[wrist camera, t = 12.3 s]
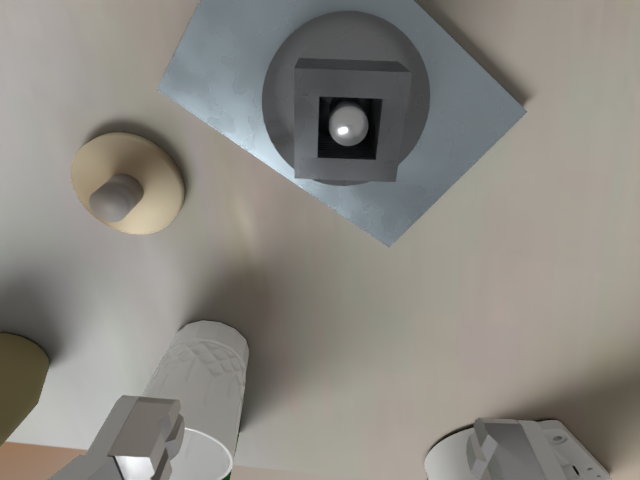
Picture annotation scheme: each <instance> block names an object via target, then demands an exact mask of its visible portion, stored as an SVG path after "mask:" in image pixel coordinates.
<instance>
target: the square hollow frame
mask: <svg viewBox="0 0 640 480" xmlns="http://www.w3.org/2000/svg"><path fill="white" fill-rule="evenodd" d="M411 76H412V72H411V71H409V70H408V69H407V68H406V67H404V66H403V65H402V64H401V63H399V62H398V61H371V60H344V59H317V58H299V59H298V61H297V63H296V65H295V67H294V179H322V180H350V181H379V182H396V177H397V170H398V163H399V156H400V150H401V143H402V136H403V130H404V123H405V116H406V109H407V103H408V96H409V89H410V83H411ZM320 96H321V97H348V98H373V100H372V110H371V120H370V129H369V137H364V139H363V140H362V141H361V142H359V143H358V144H356V145H352V146H344V145H341V144H339V143H337V142H336V141H335V140H334V139H333V138H332V136H319V107H320Z"/></svg>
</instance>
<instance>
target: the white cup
mask: <svg viewBox="0 0 640 480" xmlns="http://www.w3.org/2000/svg"><path fill="white" fill-rule="evenodd" d="M248 358H249V348H248V345H247V341H246V339H245V338H244V337H243V336H242V335H241V334H240V333H239V332H238V331H237V330H236V329H234V328H232V327H230V326H228V325H225V324H223V323H221V322H215V321H205V320H202V321H197V322H193V323H189V324H187V325H185V326H184V327H183V328H182V329H181V330H179V331H178V332H177V333H176V335H175V337H174V339H173V341H172V343H171V345H170V347H169V349H168V351H167V353H166V354H165V355H164V357H163V358H162V360H161V361H160V363H159V365H158V367H157V369H156V371H155V373H154V374H153V376H152V378H151V379H150V381H149V383H148V385H147V387H146V389H145V390H144V392H143V394H142V397H152V398H166V399H179V401H180V404H181V409H180V412H179V414H180V415H181V416H183V417H184V422H185V432H184V437H183V442H182V445H181V448H180V451H179V454H177V455H176V456H175V457H174V458H173V459H172V460H171V461H170V463H171V467H172V473H171V476H170V479H169V480H221V479H223V478H225V477H226V476H227V475H228V474H229V473H230V471H231V470H232V467H233V462H234V456H235V449H236V443H237V437H238V430H239V424H240V418H241V412H242V406H243V395H244V390H245V383H246V369H247V363H248Z"/></svg>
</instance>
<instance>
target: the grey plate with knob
mask: <svg viewBox="0 0 640 480" xmlns="http://www.w3.org/2000/svg"><path fill="white" fill-rule="evenodd" d="M299 58H317V59H344V60H371V61H398V62H399V63H401V64H402V65H403V66H404V67H406V68H407V69H408V70H409V71H411V72H412V76H411V83H410V89H409V96H408V103H407V109H406V116H405V123H404V130H403V136H402V143H401V150H400V156H399V163H398V170H397V177H396V182H379V181H350V180H322V179H294V67H295V65H296V63H297V61H298V59H299ZM157 90H159V91H160V92H162V93H163V94H165V95H166V96H168V97H169V98H170V99H172V100H173V101H175V102H176V103H178V104H179V105H181V106H182V107H184V108H185V109H187V110H188V111H189V112H191V113H192V114H194V115H195V116H197V117H198V118H200V119H201V120H203V121H204V122H206V123H207V124H209V125H210V126H211V127H213V128H214V129H216V130H217V131H219V132H220V133H222V134H223V135H225V136H226V137H228V138H229V139H231V140H232V141H233V142H235V143H236V144H238V145H239V146H241V147H242V148H244V149H245V150H247V151H248V152H250V153H251V154H253V155H254V156H255V157H257V158H258V159H260V160H261V161H263V162H264V163H266V164H267V165H269V166H270V167H272V168H273V169H275V170H276V171H277V172H279V173H280V174H282V175H283V176H285V177H286V178H288V179H289V180H291V181H292V182H294V183H295V184H297V185H298V186H299V187H301V188H302V189H304V190H305V191H307V192H308V193H310V194H311V195H313V196H314V197H316V198H317V199H319V200H320V201H321V202H323V203H324V204H326V205H327V206H329V207H330V208H332V209H333V210H335V211H336V212H338V213H339V214H341V215H342V216H343V217H345V218H346V219H348V220H349V221H351V222H352V223H354V224H355V225H357V226H358V227H360V228H361V229H363V230H364V231H365V232H367V233H368V234H370V235H371V236H373V237H374V238H376V239H377V240H379V241H380V242H382V243H383V244H385V245H386V246H387V247H390V246H391V245H392V244H393V243H394V242H395V241H396V240H397V239H398V238H399V237H400V236H401V235H402V234H403V233H404V232H405V231H406V230H407V229H408V228H409V227H410V226H411V225H413V224H414V223H415V222H416V221H417V220H418V219H419V218H420V217H421V216H422V215H423V214H424V213H425V212H426V211H427V210H428V209H429V208H430V207H431V206H432V205H433V204H434V203H435V202H436V201H437V200H438V199H439V198H440V197H441V196H442V195H443V194H444V193H445V192H446V191H447V190H448V189H449V188H450V187H451V186H452V185H453V184H454V183H455V182H456V181H457V180H458V179H459V178H460V177H461V176H462V175H463V174H464V173H465V172H467V171H468V170H469V169H470V168H471V167H472V166H473V165H474V164H475V163H476V162H477V161H478V160H479V159H480V158H481V157H482V156H483V155H484V154H485V153H486V152H487V151H488V150H489V149H490V148H491V147H492V146H493V145H494V144H495V143H496V142H497V141H498V140H499V139H500V138H501V137H502V136H503V135H504V134H505V133H506V132H507V131H508V130H509V129H510V128H511V127H512V126H513V125H514V124H515V123H516V122H517V121H518V120H519V119H521V118H522V117H523V116H524V115H525V114H526V113H527V111H526V110H525V109H524V108H523V107H522V106H521V105H520V104H519V103H518V102H517V101H516V100H515V99H514V98H513V97H512V96H511V95H510V94H509V93H508V92H507V91H506V90H505V89H504V88H503V87H502V86H501V85H500V84H499V83H498V82H497V81H496V80H495V79H494V78H493V77H492V76H491V75H490V74H488V73H487V72H486V71H485V70H484V69H483V68H482V67H481V66H480V65H479V64H478V63H477V62H476V61H475V60H474V59H473V58H472V57H471V56H470V55H469V54H468V53H467V52H466V51H465V50H464V49H463V48H462V47H461V46H460V45H459V44H458V43H457V42H456V41H455V40H454V39H453V38H452V37H451V36H450V35H449V34H448V33H447V32H446V31H445V30H444V29H443V28H442V27H441V26H440V25H439V24H438V23H436V22H435V21H434V20H433V19H432V18H431V17H430V16H429V15H428V14H427V13H426V12H425V11H424V10H423V9H422V8H421V7H420V6H419V5H418V4H417V3H416V2H415V1H414V0H201V1H200V3H199V5H198V7H197V9H196V11H195V13H194V15H193V17H192V19H191V21H190V23H189V25H188V27H187V29H186V32H185V34H184V36H183V38H182V40H181V42H180V44H179V46H178V48H177V50H176V52H175V54H174V56H173V58H172V60H171V62H170V64H169V66H168V68H167V70H166V73H165V75H164V77H163V79H162V81H161V83H160V85H159V87H158V89H157ZM372 100H373V98H348V97H321V96H320V107H319V136H332V138H333V139H334V140H335V141H336V142H337V143H339V144H341V145H344V146H352V145H356V144H358V143H359V142H361V141H362V140H363V139H364V137H369V129H370V120H371V110H372Z"/></svg>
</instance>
